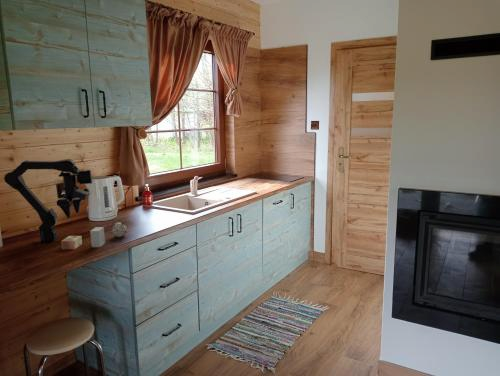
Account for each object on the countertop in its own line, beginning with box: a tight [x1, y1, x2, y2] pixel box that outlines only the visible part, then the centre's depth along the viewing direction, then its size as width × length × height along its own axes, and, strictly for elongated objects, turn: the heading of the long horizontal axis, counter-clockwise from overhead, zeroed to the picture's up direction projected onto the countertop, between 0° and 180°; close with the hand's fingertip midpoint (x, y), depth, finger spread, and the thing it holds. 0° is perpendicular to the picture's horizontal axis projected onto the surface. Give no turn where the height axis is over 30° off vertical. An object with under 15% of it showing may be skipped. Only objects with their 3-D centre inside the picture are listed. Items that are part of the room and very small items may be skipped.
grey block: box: [89, 226, 106, 248], centre depth 197 cm, size 6×4×8 cm, turn 177°
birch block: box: [60, 235, 83, 250], centre depth 196 cm, size 6×4×8 cm
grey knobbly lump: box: [110, 220, 129, 240], centre depth 208 cm, size 9×8×10 cm
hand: (73, 215), depth 206 cm, fingers open, 9 cm apart
